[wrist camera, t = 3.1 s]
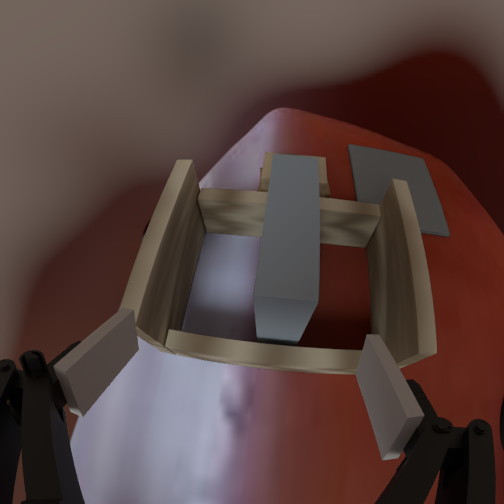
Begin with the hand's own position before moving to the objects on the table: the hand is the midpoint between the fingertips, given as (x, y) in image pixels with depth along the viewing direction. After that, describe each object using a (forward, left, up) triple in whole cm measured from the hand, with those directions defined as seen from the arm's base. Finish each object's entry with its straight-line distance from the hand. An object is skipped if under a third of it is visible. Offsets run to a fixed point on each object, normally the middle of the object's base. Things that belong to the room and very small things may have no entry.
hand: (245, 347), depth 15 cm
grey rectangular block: (-2, -9, -12) cm, 15 cm away
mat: (-18, -27, -12) cm, 34 cm away
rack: (-2, -9, -12) cm, 15 cm away
